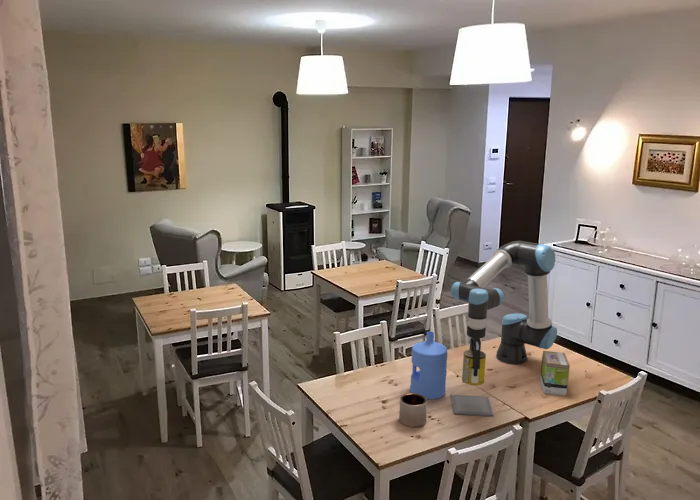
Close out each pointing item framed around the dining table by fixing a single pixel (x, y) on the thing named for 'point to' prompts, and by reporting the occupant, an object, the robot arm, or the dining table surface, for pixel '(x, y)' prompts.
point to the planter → (413, 410)
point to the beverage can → (469, 363)
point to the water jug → (429, 368)
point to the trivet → (471, 405)
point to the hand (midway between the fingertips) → (473, 377)
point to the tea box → (554, 373)
